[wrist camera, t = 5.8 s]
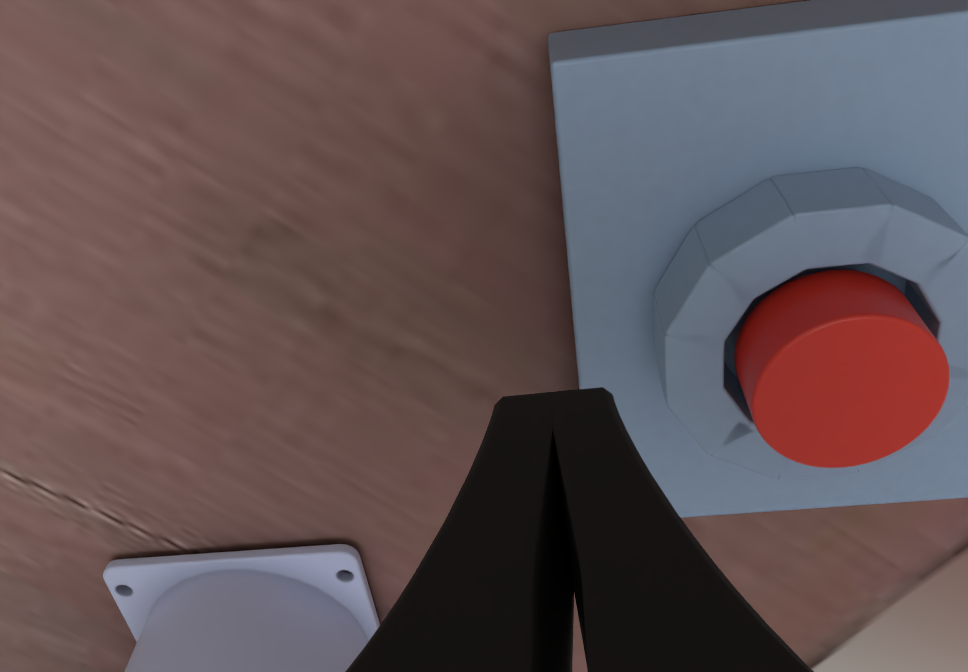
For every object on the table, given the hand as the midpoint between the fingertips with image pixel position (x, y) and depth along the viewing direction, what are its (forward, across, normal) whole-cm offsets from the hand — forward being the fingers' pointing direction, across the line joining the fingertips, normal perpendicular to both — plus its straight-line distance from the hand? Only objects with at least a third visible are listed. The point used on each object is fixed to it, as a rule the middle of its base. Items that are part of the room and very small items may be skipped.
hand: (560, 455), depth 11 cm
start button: (+7, -5, +4) cm, 9 cm away
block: (+10, -5, +4) cm, 12 cm away
